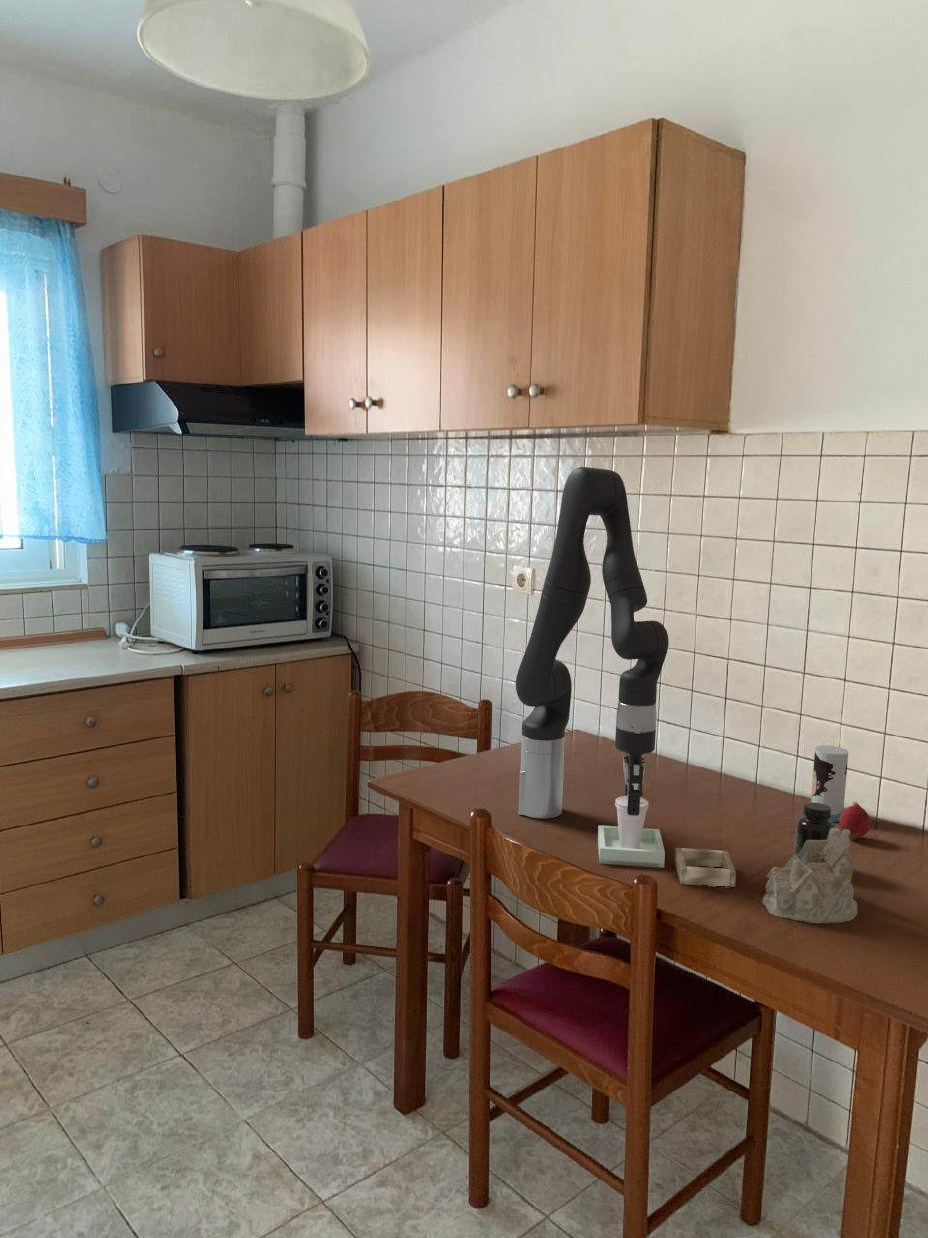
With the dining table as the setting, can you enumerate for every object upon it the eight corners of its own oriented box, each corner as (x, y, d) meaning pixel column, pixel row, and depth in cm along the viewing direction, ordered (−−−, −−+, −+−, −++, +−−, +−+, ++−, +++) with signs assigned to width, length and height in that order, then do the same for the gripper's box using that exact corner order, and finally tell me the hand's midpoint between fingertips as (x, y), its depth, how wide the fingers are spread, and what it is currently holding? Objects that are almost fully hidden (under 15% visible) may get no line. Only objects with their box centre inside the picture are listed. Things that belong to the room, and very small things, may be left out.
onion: (867, 836, 191) (871, 799, 190) (870, 846, 186) (873, 808, 184) (837, 832, 193) (840, 795, 192) (838, 842, 187) (842, 804, 186)
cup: (835, 811, 206) (841, 745, 203) (847, 822, 199) (853, 754, 197) (805, 810, 206) (810, 745, 203) (816, 821, 199) (821, 754, 197)
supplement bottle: (827, 878, 170) (833, 815, 168) (789, 869, 174) (794, 808, 172) (835, 865, 176) (840, 804, 174) (797, 857, 180) (802, 797, 178)
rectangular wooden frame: (680, 884, 166) (681, 868, 166) (674, 862, 176) (675, 847, 175) (734, 887, 165) (735, 871, 165) (726, 866, 174) (727, 851, 174)
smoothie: (645, 857, 176) (649, 786, 174) (611, 853, 177) (615, 783, 175) (646, 844, 182) (650, 776, 180) (613, 840, 184) (617, 772, 181)
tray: (599, 863, 174) (600, 848, 174) (597, 839, 186) (598, 825, 186) (664, 868, 173) (665, 852, 173) (658, 843, 185) (659, 829, 184)
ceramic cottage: (843, 885, 167) (845, 806, 164) (867, 931, 151) (869, 844, 148) (754, 882, 170) (754, 804, 167) (767, 927, 154) (768, 842, 151)
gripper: (614, 715, 183) (610, 793, 186) (617, 734, 169) (613, 819, 172) (652, 717, 182) (648, 796, 185) (659, 736, 168) (654, 821, 171)
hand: (631, 807), depth 178 cm, fingers open, 8 cm apart
